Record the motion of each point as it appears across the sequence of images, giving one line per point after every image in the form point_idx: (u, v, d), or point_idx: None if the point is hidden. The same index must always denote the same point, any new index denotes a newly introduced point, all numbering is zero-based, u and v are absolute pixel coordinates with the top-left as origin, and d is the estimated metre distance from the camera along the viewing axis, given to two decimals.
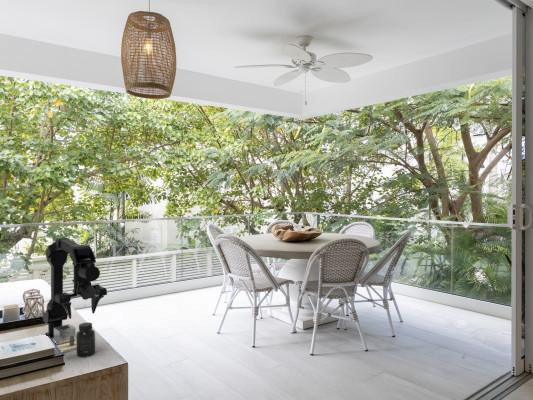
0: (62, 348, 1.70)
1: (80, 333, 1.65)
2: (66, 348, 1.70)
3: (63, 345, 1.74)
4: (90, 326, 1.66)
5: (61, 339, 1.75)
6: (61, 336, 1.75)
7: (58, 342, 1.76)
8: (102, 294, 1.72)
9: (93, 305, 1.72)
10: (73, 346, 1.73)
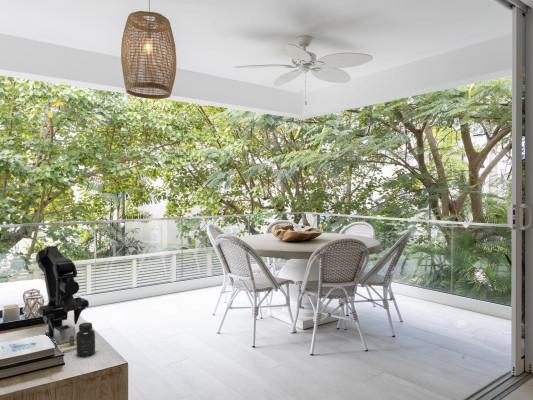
0: (62, 348, 1.70)
1: (80, 333, 1.65)
2: (66, 348, 1.70)
3: (63, 345, 1.74)
4: (90, 326, 1.66)
5: (61, 339, 1.75)
6: (61, 336, 1.75)
7: (58, 342, 1.76)
8: (84, 306, 1.82)
9: (75, 316, 1.82)
10: (73, 346, 1.73)
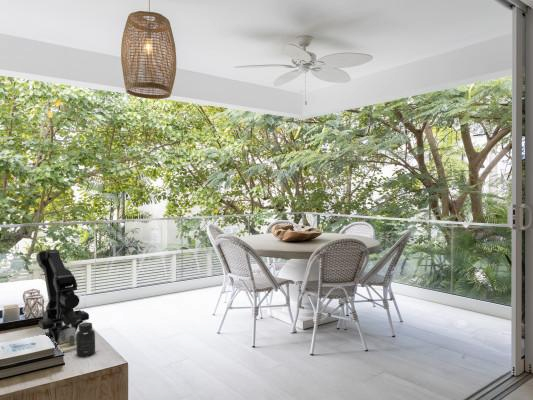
0: (62, 348, 1.70)
1: (80, 333, 1.65)
2: (66, 348, 1.70)
3: (63, 345, 1.74)
4: (90, 326, 1.66)
5: (61, 339, 1.75)
6: (61, 336, 1.75)
7: (58, 342, 1.76)
8: (84, 319, 1.82)
9: None
10: (73, 346, 1.73)
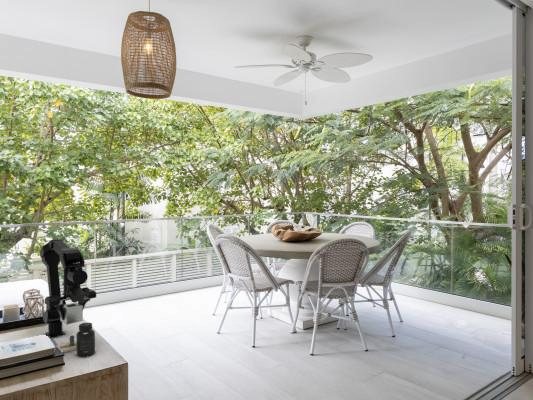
0: (62, 348, 1.70)
1: (80, 333, 1.65)
2: (66, 348, 1.70)
3: (63, 345, 1.74)
4: (90, 326, 1.66)
5: (68, 316, 1.70)
6: (68, 314, 1.70)
7: (65, 320, 1.70)
8: (91, 297, 1.77)
9: None
10: (73, 346, 1.73)
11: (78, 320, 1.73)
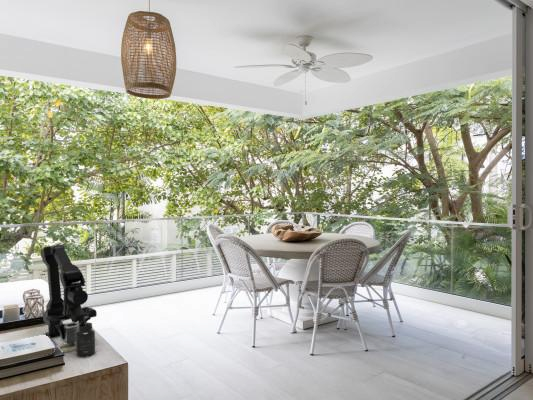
0: (62, 348, 1.70)
1: (80, 333, 1.65)
2: (66, 348, 1.70)
3: (63, 345, 1.74)
4: (90, 326, 1.66)
5: (68, 336, 1.70)
6: (68, 333, 1.70)
7: (65, 340, 1.71)
8: (91, 316, 1.77)
9: None
10: (73, 346, 1.73)
11: None
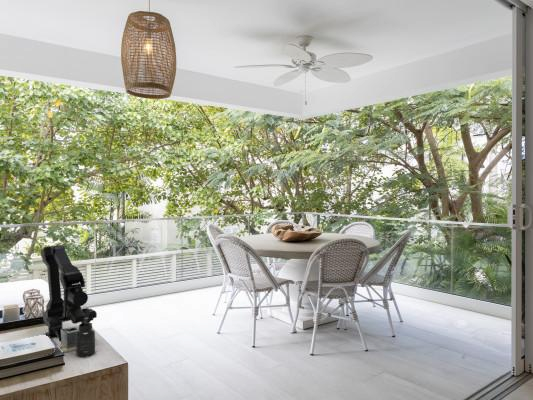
0: (62, 348, 1.70)
1: (80, 333, 1.65)
2: None
3: None
4: (90, 326, 1.66)
5: (68, 341, 1.70)
6: (68, 338, 1.70)
7: (65, 344, 1.71)
8: (92, 317, 1.77)
9: None
10: None
11: None
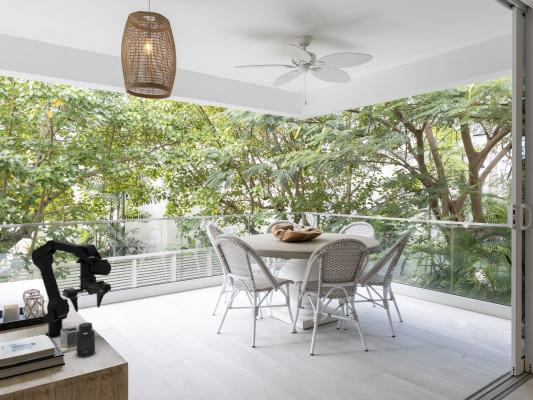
0: (62, 348, 1.70)
1: (80, 333, 1.65)
2: None
3: None
4: (90, 326, 1.66)
5: (68, 341, 1.70)
6: (68, 338, 1.70)
7: (65, 344, 1.71)
8: (106, 290, 1.85)
9: (98, 300, 1.86)
10: None
11: None
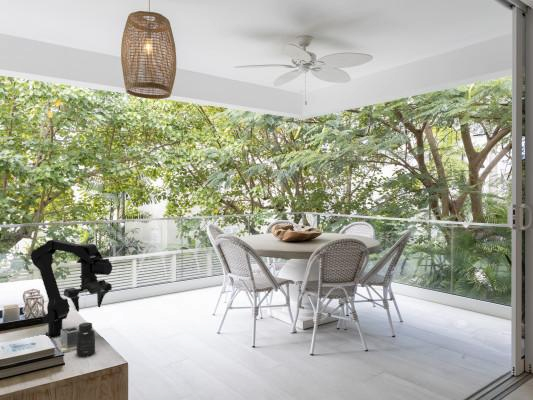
0: (62, 348, 1.70)
1: (80, 333, 1.65)
2: None
3: None
4: (90, 326, 1.66)
5: (68, 341, 1.70)
6: (68, 338, 1.70)
7: (65, 344, 1.71)
8: (107, 289, 1.86)
9: (99, 299, 1.86)
10: None
11: None
